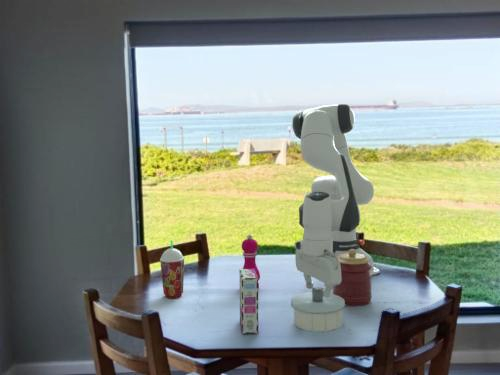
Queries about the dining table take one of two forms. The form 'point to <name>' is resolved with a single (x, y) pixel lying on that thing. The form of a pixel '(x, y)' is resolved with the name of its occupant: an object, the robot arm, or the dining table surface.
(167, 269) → the smoothie
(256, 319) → the candy bar box
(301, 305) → the lid
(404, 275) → the dining table surface
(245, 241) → the pepper mill
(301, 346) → the dining table surface
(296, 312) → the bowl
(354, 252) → the canister
